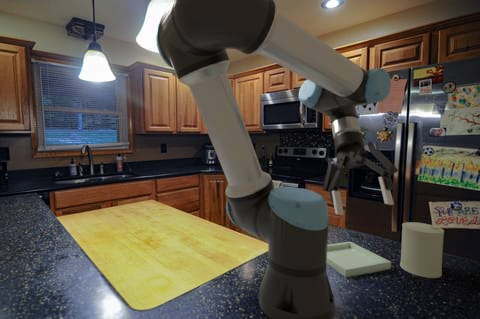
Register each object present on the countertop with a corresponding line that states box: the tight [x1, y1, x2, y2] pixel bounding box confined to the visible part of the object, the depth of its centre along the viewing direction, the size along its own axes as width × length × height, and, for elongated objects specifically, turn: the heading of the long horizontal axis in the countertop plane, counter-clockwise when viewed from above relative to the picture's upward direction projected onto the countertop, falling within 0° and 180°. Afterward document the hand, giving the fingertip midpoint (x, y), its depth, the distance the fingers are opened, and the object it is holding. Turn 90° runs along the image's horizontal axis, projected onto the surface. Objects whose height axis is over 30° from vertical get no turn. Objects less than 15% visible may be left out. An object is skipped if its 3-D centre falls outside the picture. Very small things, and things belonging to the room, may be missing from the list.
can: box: [399, 221, 445, 279], centre depth 68 cm, size 9×9×12 cm
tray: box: [326, 241, 392, 278], centre depth 73 cm, size 15×15×2 cm
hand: (362, 209), depth 65 cm, fingers open, 13 cm apart
